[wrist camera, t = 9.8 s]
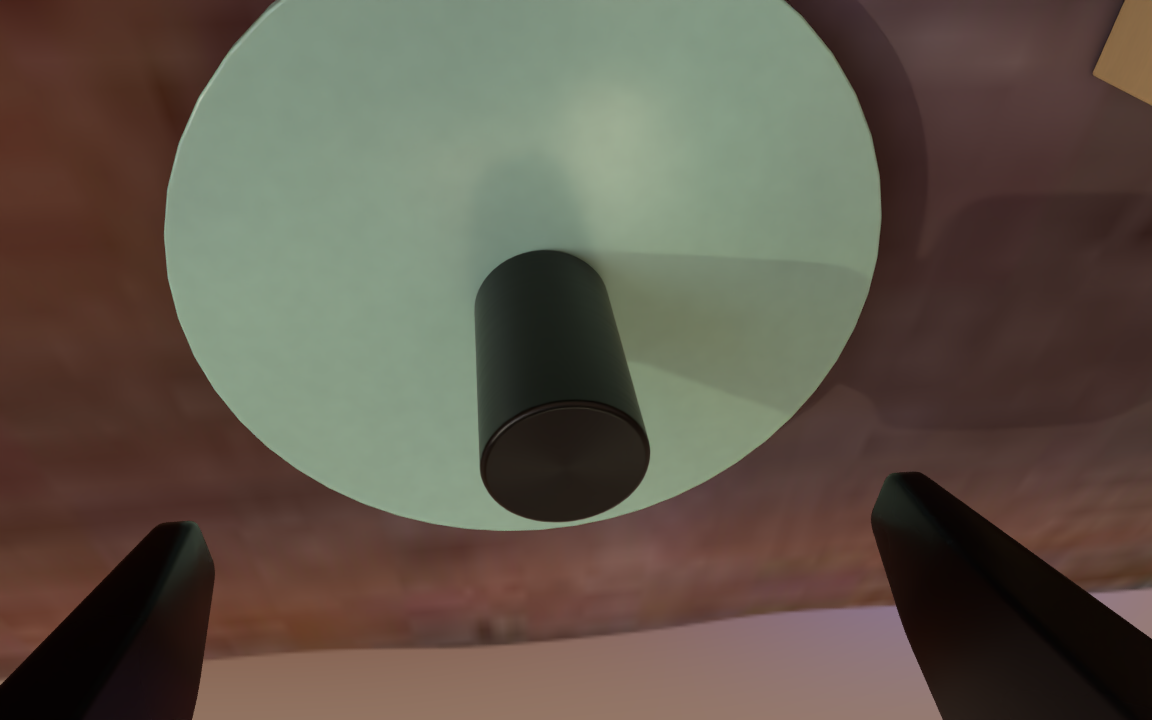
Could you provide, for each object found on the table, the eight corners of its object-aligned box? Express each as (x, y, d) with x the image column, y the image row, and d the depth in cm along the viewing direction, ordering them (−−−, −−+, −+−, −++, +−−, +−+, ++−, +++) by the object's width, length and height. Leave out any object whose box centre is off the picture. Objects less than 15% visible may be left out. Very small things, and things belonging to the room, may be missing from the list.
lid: (951, -93, 12) (1207, -9, 8) (783, 478, 19) (868, 667, 15) (67, -114, 10) (-180, -25, 6) (266, 512, 18) (212, 732, 14)
